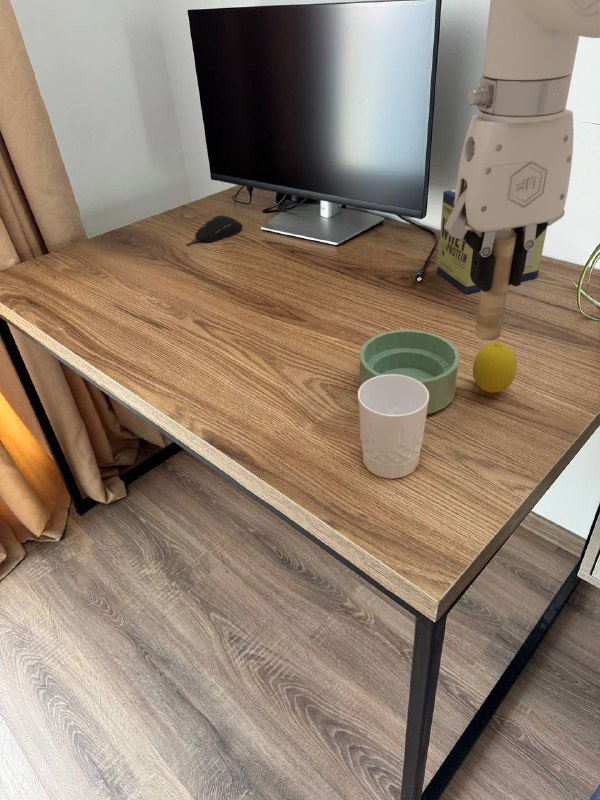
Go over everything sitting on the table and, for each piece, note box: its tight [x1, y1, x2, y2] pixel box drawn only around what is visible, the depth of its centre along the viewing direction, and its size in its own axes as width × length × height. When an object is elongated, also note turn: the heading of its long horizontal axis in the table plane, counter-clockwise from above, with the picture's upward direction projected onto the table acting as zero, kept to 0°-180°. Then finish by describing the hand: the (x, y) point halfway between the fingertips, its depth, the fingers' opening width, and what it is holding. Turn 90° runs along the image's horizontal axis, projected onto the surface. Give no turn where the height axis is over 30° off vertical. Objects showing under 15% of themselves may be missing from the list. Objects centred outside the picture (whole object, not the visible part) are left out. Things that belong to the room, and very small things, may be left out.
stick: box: [474, 229, 516, 341], centre depth 64 cm, size 3×3×12 cm
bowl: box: [359, 329, 461, 415], centre depth 81 cm, size 13×13×6 cm
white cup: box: [357, 374, 429, 480], centre depth 68 cm, size 8×8×10 cm
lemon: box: [472, 341, 518, 394], centre depth 78 cm, size 6×6×8 cm
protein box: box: [436, 188, 548, 295], centre depth 105 cm, size 10×16×16 cm
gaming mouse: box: [186, 214, 243, 247], centre depth 133 cm, size 6×15×4 cm, turn 131°
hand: (495, 282), depth 64 cm, fingers closed on stick, 2 cm apart
